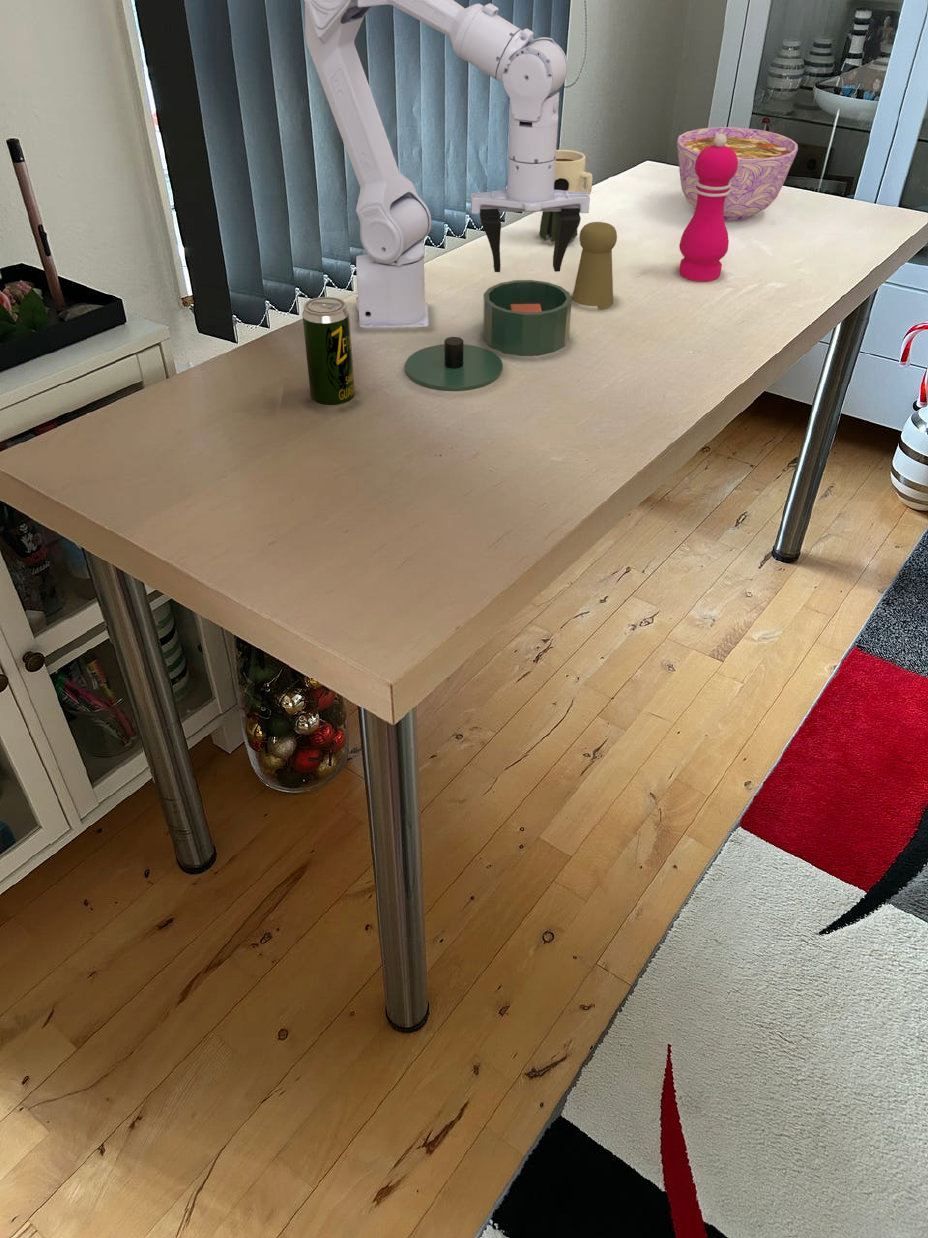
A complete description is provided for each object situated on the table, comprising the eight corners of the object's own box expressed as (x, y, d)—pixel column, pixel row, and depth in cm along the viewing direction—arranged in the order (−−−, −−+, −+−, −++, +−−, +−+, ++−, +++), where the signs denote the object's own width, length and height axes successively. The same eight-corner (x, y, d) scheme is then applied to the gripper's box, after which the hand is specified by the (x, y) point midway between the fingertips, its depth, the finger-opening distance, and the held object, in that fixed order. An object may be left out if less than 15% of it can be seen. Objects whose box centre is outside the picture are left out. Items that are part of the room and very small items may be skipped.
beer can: (303, 407, 121) (293, 311, 113) (321, 387, 125) (312, 293, 117) (345, 413, 120) (337, 317, 112) (362, 393, 124) (355, 299, 116)
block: (511, 344, 134) (512, 316, 131) (509, 332, 137) (510, 303, 134) (541, 344, 134) (543, 315, 131) (538, 331, 137) (540, 303, 135)
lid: (405, 396, 123) (404, 363, 121) (405, 351, 133) (404, 320, 130) (506, 394, 124) (507, 361, 121) (498, 350, 133) (499, 319, 131)
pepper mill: (670, 278, 153) (690, 137, 140) (681, 262, 158) (701, 124, 145) (718, 285, 151) (742, 143, 138) (727, 269, 156) (751, 130, 143)
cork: (611, 311, 143) (619, 233, 136) (569, 307, 144) (575, 229, 137) (615, 295, 148) (622, 218, 141) (574, 291, 149) (580, 215, 142)
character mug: (518, 238, 166) (521, 154, 158) (541, 226, 171) (545, 144, 162) (575, 252, 161) (582, 166, 153) (597, 239, 166) (604, 155, 157)
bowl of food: (650, 199, 182) (658, 130, 175) (752, 191, 186) (764, 123, 178) (696, 236, 167) (707, 163, 160) (805, 227, 171) (821, 154, 163)
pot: (485, 360, 131) (486, 314, 127) (480, 324, 140) (481, 280, 136) (572, 358, 132) (576, 313, 128) (562, 322, 140) (565, 279, 136)
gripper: (473, 166, 117) (472, 281, 126) (597, 166, 118) (587, 280, 126) (470, 149, 123) (469, 260, 131) (588, 149, 123) (579, 259, 132)
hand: (526, 268), depth 129 cm, fingers open, 7 cm apart
